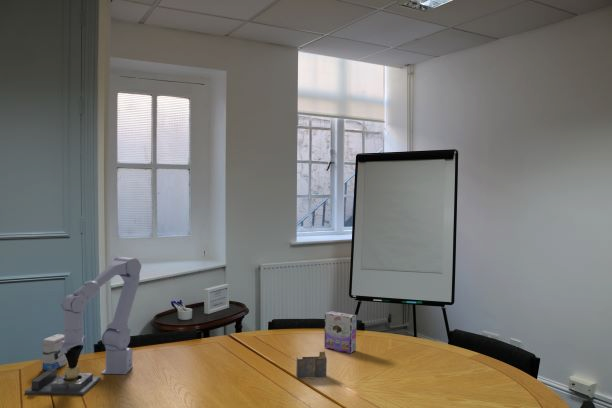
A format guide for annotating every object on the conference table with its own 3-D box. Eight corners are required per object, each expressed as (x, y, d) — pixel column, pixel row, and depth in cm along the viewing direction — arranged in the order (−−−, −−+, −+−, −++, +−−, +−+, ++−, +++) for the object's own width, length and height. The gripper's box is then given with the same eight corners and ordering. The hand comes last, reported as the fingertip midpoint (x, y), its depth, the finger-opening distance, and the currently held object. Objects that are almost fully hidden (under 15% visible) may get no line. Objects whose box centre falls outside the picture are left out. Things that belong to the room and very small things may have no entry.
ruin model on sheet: (324, 375, 188) (325, 350, 188) (326, 378, 185) (326, 353, 185) (296, 376, 186) (296, 351, 186) (297, 379, 183) (297, 354, 183)
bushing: (81, 381, 173) (81, 364, 173) (74, 386, 168) (74, 369, 168) (69, 381, 173) (69, 364, 173) (62, 385, 169) (62, 368, 169)
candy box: (356, 350, 217) (357, 314, 217) (350, 354, 212) (351, 317, 212) (330, 345, 225) (330, 310, 224) (323, 348, 220) (324, 312, 219)
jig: (100, 379, 178) (100, 368, 178) (83, 395, 164) (83, 383, 164) (46, 378, 178) (46, 367, 178) (24, 394, 164) (24, 382, 164)
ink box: (52, 371, 185) (53, 340, 185) (41, 369, 186) (42, 339, 186) (68, 363, 193) (68, 334, 193) (57, 362, 194) (57, 333, 194)
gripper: (71, 323, 178) (71, 359, 178) (51, 334, 163) (50, 374, 163) (90, 323, 178) (90, 360, 178) (72, 335, 163) (71, 374, 163)
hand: (72, 367), depth 171 cm, fingers closed, pressing on bushing
